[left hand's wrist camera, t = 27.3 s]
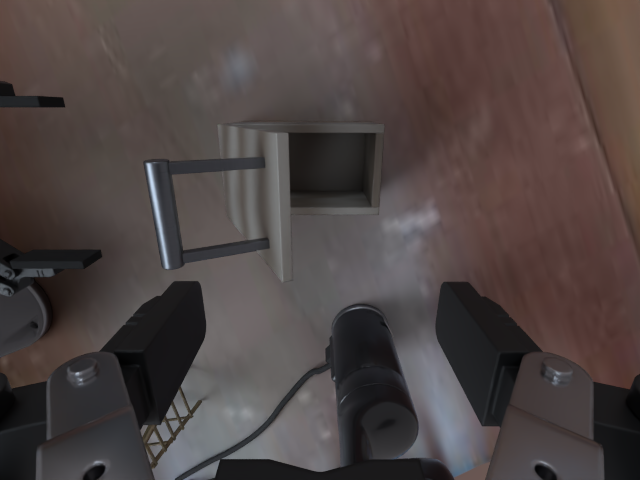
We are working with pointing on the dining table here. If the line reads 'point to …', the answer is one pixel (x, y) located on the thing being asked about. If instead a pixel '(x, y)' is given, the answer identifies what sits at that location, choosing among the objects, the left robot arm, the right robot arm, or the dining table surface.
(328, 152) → the chest
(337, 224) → the dining table surface
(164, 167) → the panel with bar handle
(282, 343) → the dining table surface
